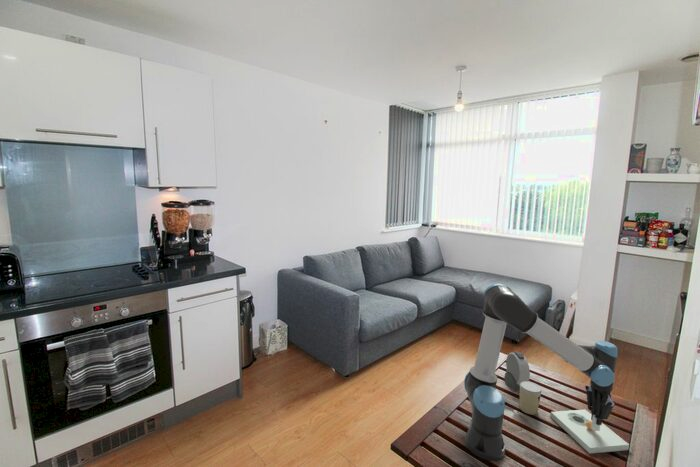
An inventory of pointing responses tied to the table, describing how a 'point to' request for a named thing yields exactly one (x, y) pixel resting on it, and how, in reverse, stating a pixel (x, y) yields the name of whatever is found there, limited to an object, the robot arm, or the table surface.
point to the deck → (588, 432)
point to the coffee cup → (529, 397)
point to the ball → (589, 424)
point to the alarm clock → (516, 370)
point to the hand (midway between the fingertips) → (595, 429)
